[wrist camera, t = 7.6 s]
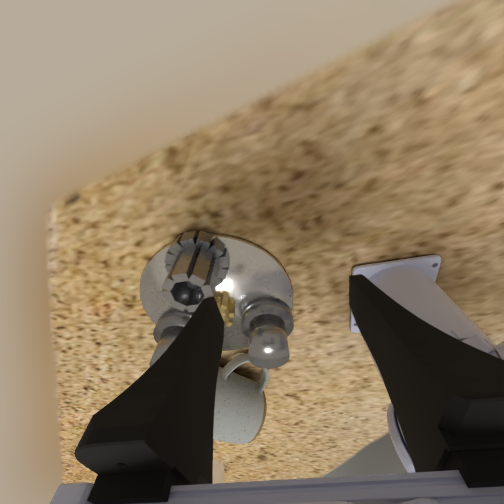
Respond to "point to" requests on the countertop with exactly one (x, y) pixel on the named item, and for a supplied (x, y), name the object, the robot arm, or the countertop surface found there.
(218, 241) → the planet gear
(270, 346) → the carrier
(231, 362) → the ceramic mug
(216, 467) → the white short cylinder
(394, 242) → the countertop surface
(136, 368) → the countertop surface
